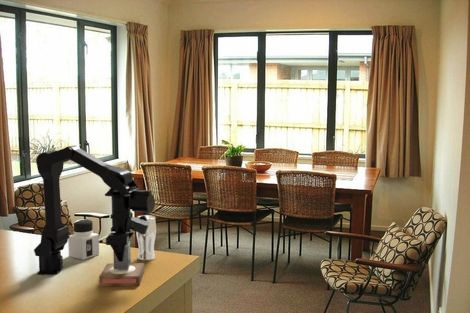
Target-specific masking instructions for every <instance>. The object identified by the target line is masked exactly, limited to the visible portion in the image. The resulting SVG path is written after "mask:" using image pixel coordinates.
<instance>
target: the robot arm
mask: <svg viewBox="0 0 470 313" xmlns="http://www.w3.org/2000/svg"><path fill="white" fill-rule="evenodd" d="M69 161H72V162H73V163H75V164H76V165H79V166H81V167H82V168H84V169H86V170H87V171H89V172H91V173H92V174H94V175H96V176H98V178H100V179H101V180H102V182H103V183H104V184H105V185H107V187H108V188H109V189H108V190H107V192H106V193H104V196H105V197H111V214H110V219H111V224H112V225H111V227H110V233H109V234H108V235H107V236H106V238H105V245H106V246H110V247H111V249H112V250H113V251H114V253H115V255H116V257H117V259H118V261H119V262H122V261H123V256H124V250H125V246H126V245H127V244H128V243H129V241H130V242H131V238H132V237H133V235H134V232H139V233H140V234H143V235H145V233H146V231H147V229H148V226H149V221H147V217H146V216H144V214H142V215H140V216H141V217H140V218H138V216H136V217H134V215H133V214H134V213H133V212H136V213H137V212H139V213H152V212H154V209H155V206H156V199H155V197H154V195H153V193H152V190H151V189H146V190H143V189H140V186H138V183H137V182H136V181H135V179H134V178H133V175H132V172H131V171H130V170H128V169H126V168H123V167H120V166H116V165H111V164H108V163H106V162H104V161H103V160H101V159H100V158H97V157H95V156H94V155H92V154H91V153H88V151H85V150H84V149H82V148H80V146H78V145H70V146H69V145H68V146H66V147H65V148H62V149H58V150H51V151H50V150H49V151H44V152H41V153H39V154H38V155H37V156H36V158H35V163H36V164H35V165H36V167H37V172H38V174H39V175H40V177H41V178H42V182H43V183H42V184H43V201H44V216H45V217H44V220H45V223H44V226H43V229H42V231H41V234H40V235H41V236H40V242H39V244H38V245H37V246H36V247H35V248H34V249H33V252H34V255H35V257H38V271H37V275H54V274H55V275H58V274H59V272H60V271H62V269H63V268H64V264H63V263H64V258H63V255H62V253H61V252H62V251H63V250H65V249H64V248H65V246H66V244H68V238H70V237H69V235H70V234H69V230H70V226H69V225H65V224H64V223H63V222H62V221H63V220H62V207H61V206H62V205H61V203H62V202H61V189H60V188H61V186H60V185H61V184H60V177H61V175H62V172H63V170H64V163H65V162H66V163H67V162H69ZM132 231H133V232H132Z"/></svg>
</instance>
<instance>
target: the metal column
mask: <svg viewBox="0 0 470 313" xmlns="http://www.w3.org/2000/svg"><path fill="white" fill-rule="evenodd" d="M112 254H113V263H114V269H129V267H130V265H131V263H132V262H131V261H132V260H131V258H132V257H131V240H130V241H129V243H128V244H127V245H126V246H125V250H124V256H123V261H122V262H119V261H118V259H117V257H116V255H115V253H114V251H113V252H112Z"/></svg>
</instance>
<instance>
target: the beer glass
mask: <svg viewBox="0 0 470 313" xmlns="http://www.w3.org/2000/svg"><path fill="white" fill-rule="evenodd" d="M143 215H144V214H143ZM141 216H142V215H137V217H138V218H140V217H141ZM144 216H146V217H147V221H149V226H148V229H147V231H146V233H145V235H143V234H140V233H139V232H136V231H135V232H136V240H137V243H138V244H137V246H138V254H137V255H138V256H137V259H138V260H139V261H142V262H148V261H149V262H150V261H153V260H155V259H156V254H155V242H156V235H157V223H156V222H157V221H156V216H155V215H151V214H145V215H144Z"/></svg>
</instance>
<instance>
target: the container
mask: <svg viewBox="0 0 470 313" xmlns="http://www.w3.org/2000/svg"><path fill="white" fill-rule="evenodd" d="M93 226H94V224H93V221H92V220H91V219H86V218H85V219H84V218H83V219H77V220H75V221H74V222H73V234H69V237H70V238H68V242H67V244H68V245H67V246H68V257H70V258H74V259H78V260H82V261H85V260H87V259H90V258H93V257H96V256H99V255H100V240H99V239H100V234H98V233H94V229H93V228H94V227H93Z"/></svg>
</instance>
